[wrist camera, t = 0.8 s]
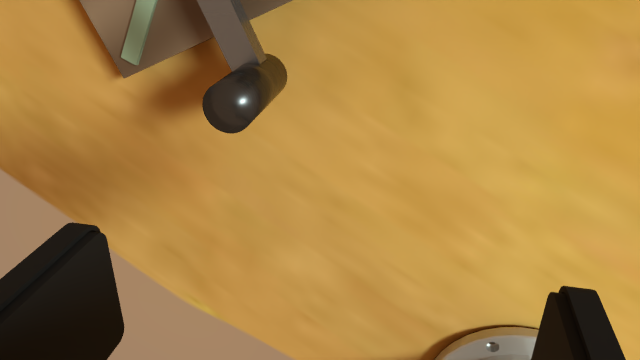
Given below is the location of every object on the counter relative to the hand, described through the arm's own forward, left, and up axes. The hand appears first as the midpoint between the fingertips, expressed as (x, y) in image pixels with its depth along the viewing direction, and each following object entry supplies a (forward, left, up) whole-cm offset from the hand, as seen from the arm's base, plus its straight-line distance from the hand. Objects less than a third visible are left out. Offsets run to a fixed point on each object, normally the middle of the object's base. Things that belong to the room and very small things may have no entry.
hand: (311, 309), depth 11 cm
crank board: (+13, +6, -21) cm, 26 cm away
